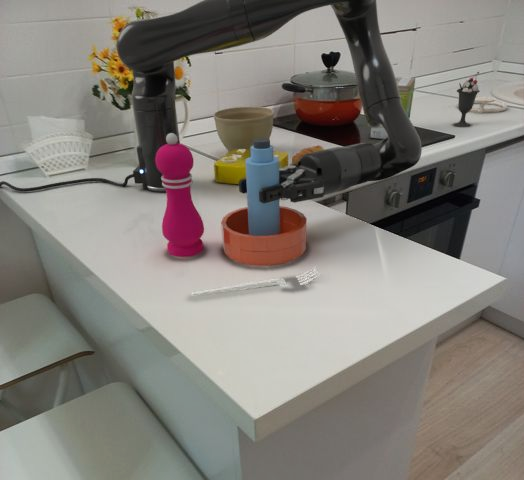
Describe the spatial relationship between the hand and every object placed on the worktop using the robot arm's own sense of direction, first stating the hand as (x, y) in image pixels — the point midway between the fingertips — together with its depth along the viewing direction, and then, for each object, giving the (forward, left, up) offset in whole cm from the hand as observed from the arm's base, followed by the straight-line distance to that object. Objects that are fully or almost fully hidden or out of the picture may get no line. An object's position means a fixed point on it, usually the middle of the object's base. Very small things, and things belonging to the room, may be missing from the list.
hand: (250, 191), depth 81 cm
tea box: (+33, +86, -11) cm, 93 cm away
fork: (+2, -13, -11) cm, 17 cm away
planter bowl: (-9, +63, -11) cm, 65 cm away
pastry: (+9, +55, -11) cm, 57 cm away
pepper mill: (-12, 0, -11) cm, 16 cm away
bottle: (+2, +2, -10) cm, 11 cm away
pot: (+2, +2, -11) cm, 11 cm away
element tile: (-5, +44, -11) cm, 46 cm away
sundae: (+57, +97, -11) cm, 113 cm away
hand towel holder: (+69, +122, -11) cm, 141 cm away
